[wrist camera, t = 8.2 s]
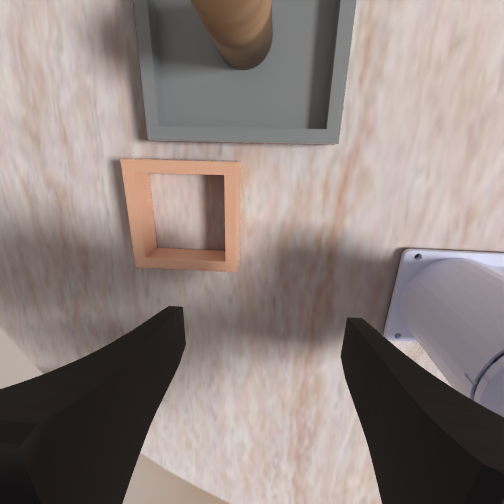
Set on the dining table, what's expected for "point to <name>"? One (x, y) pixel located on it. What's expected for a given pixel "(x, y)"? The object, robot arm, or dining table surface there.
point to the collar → (143, 215)
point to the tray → (245, 76)
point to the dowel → (238, 29)
